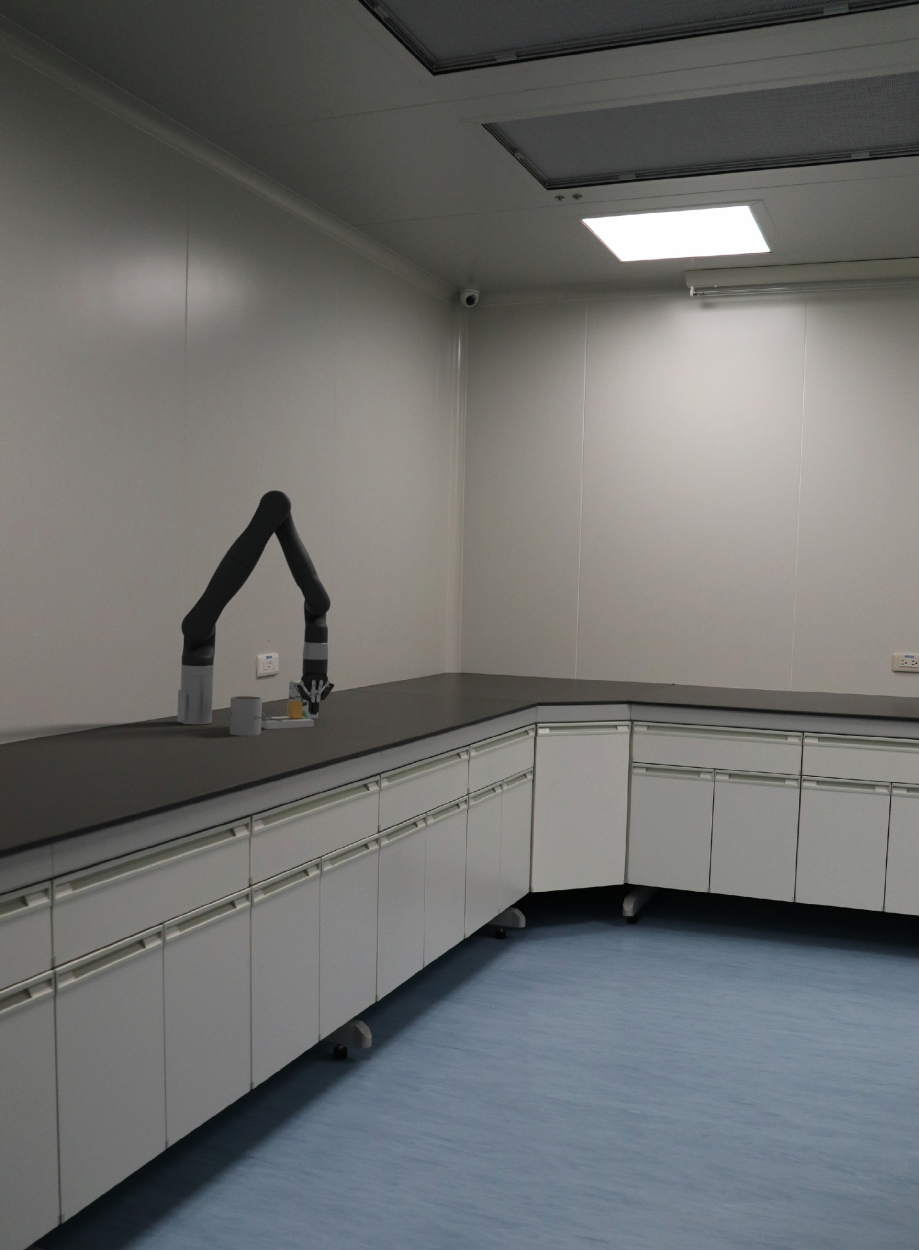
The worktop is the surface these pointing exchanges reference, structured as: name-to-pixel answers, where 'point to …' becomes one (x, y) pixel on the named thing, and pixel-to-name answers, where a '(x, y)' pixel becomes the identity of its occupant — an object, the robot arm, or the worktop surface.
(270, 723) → the console
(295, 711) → the orange block
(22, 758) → the worktop surface
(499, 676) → the worktop surface
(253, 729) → the mug
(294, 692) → the ink box
